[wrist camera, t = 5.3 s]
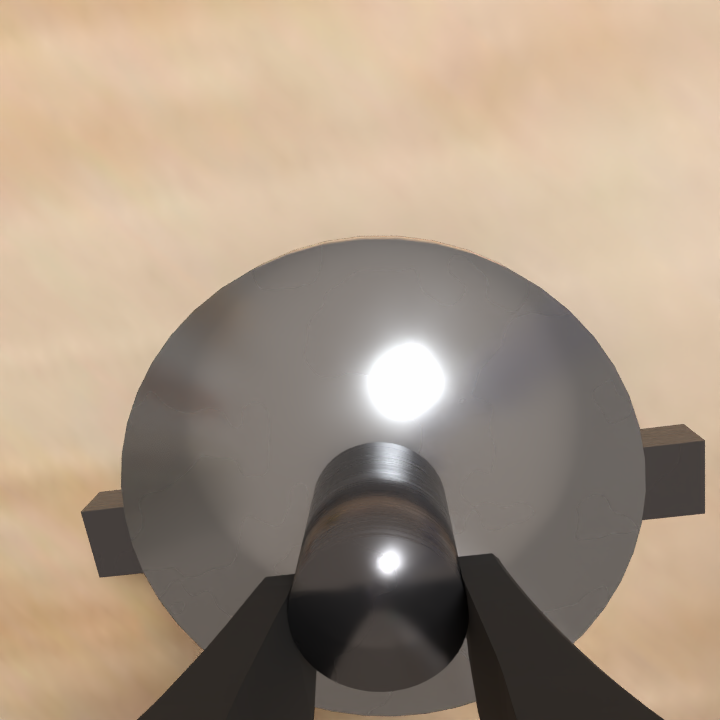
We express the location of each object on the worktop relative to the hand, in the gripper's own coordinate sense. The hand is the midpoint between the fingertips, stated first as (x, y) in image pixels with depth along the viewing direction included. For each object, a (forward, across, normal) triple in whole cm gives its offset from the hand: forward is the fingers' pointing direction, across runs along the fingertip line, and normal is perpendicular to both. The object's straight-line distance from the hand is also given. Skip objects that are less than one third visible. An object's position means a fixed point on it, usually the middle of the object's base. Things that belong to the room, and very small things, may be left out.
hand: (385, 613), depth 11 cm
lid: (+3, 0, -1) cm, 4 cm away
